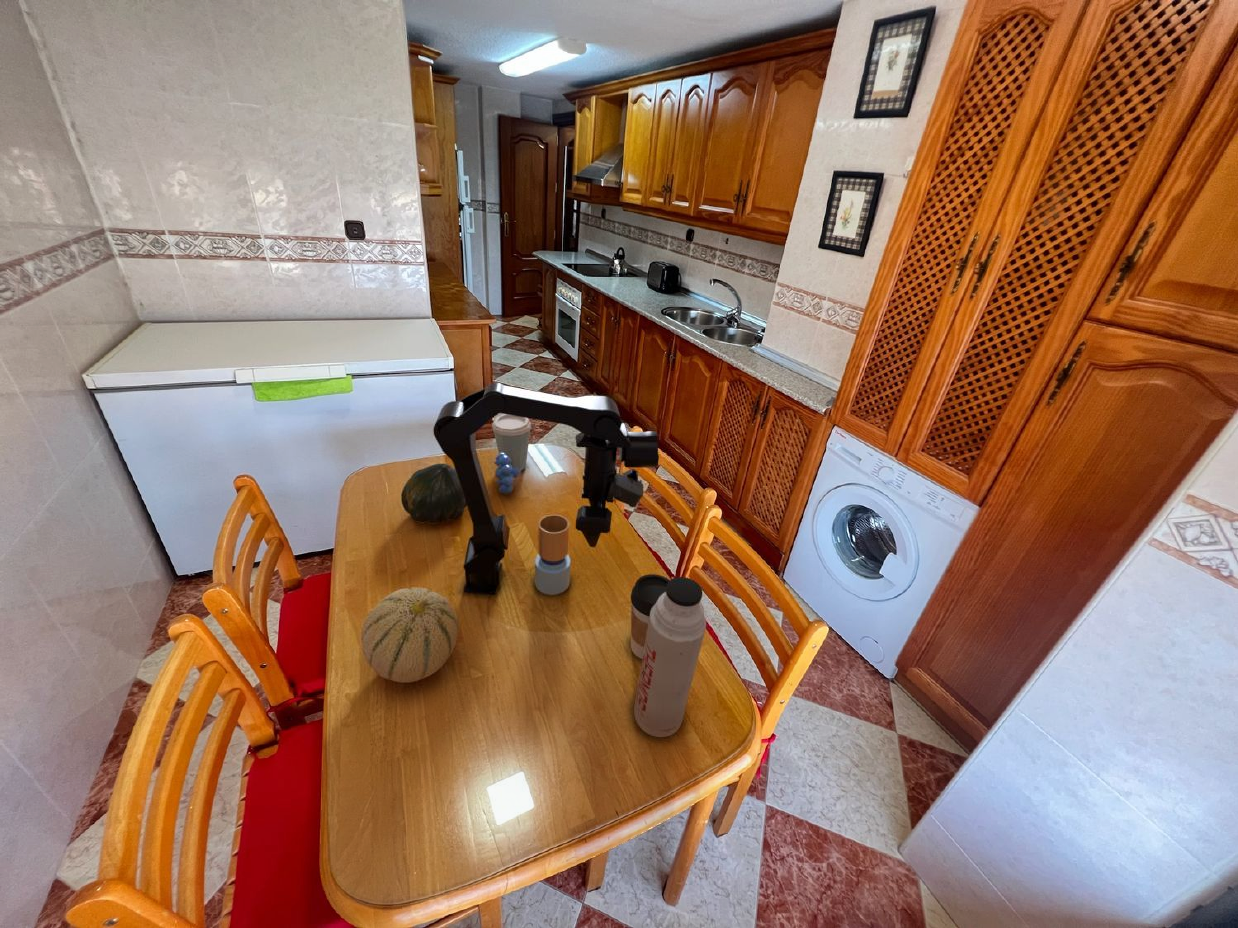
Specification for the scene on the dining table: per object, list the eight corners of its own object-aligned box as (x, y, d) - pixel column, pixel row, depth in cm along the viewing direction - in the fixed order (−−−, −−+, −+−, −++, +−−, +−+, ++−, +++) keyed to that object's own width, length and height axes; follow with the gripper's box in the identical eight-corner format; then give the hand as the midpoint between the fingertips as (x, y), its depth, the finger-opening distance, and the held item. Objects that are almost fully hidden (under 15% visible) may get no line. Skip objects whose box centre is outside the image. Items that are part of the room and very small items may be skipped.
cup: (535, 559, 97) (535, 531, 94) (541, 540, 102) (541, 513, 99) (565, 562, 97) (567, 534, 94) (570, 543, 102) (571, 516, 99)
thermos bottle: (636, 738, 77) (659, 611, 63) (631, 691, 84) (651, 567, 70) (686, 736, 78) (720, 611, 64) (677, 690, 85) (706, 568, 70)
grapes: (526, 502, 128) (526, 462, 122) (500, 506, 125) (498, 466, 119) (516, 479, 137) (515, 440, 131) (491, 482, 134) (489, 443, 128)
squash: (388, 486, 119) (400, 463, 108) (448, 470, 129) (464, 447, 117) (410, 540, 117) (425, 523, 106) (468, 519, 127) (488, 501, 115)
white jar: (531, 592, 101) (531, 561, 97) (538, 568, 107) (538, 538, 103) (566, 596, 101) (568, 565, 97) (571, 572, 107) (573, 541, 103)
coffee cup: (637, 672, 87) (647, 612, 79) (616, 636, 93) (623, 578, 86) (677, 656, 91) (690, 597, 83) (654, 623, 97) (664, 565, 89)
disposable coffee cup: (519, 480, 136) (518, 431, 129) (486, 470, 139) (483, 422, 131) (538, 462, 145) (538, 416, 137) (506, 453, 148) (504, 408, 140)
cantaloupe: (370, 639, 88) (354, 577, 81) (456, 620, 93) (449, 560, 86) (368, 713, 77) (349, 649, 69) (466, 686, 82) (458, 624, 74)
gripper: (642, 498, 83) (633, 567, 91) (644, 445, 99) (636, 508, 107) (576, 491, 83) (573, 561, 91) (588, 439, 99) (584, 503, 107)
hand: (594, 531), depth 99 cm, fingers open, 9 cm apart
